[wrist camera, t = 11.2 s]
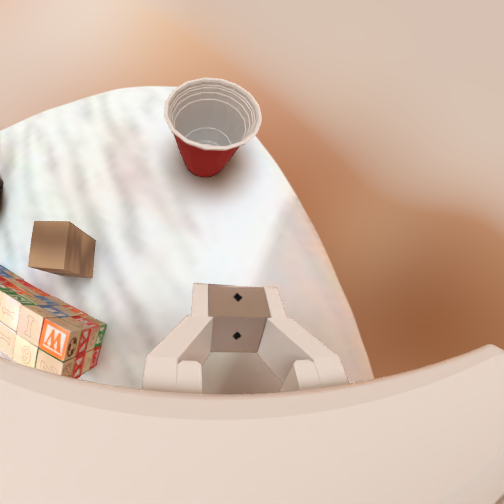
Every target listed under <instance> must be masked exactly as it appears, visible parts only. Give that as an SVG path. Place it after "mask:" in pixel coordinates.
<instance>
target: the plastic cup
mask: <svg viewBox="0 0 504 504" xmlns="http://www.w3.org/2000/svg"><path fill="white" fill-rule="evenodd" d="M164 117H165V119H166V121H167V123H168V125H169V127H170V129H171V131H172V133H173V134H174V136H175V139H176V142H177V145H178V148H179V151H180V153H181V155H182V157H183V160H184V162H185V164H186V166H187V168H188V169H189V171H191V172H192V173H193V174H194V175H197V176H200V177H210V176H213V175H215V174H217V173H219V172H220V171H221V170H222V169H223V168H224V166H225V165H226V163H227V162H228V161H229V160H230V159H231V157H232V156H233V154H234V153H235V152H236V150H237V149H238V148H239V146H242V145H244V144H245V143H246V142H248V141H249V140H250V139H251V138H252V137H253V136H255V135H256V134H257V133H258V130H259V127H260V124H261V122H262V117H261V111H260V106H259V105H258V103H257V102H256V100H255V99H254V98H253V96H252V95H251V94H250V93H249V92H248V91H246V90H245V89H243V88H242V87H240V86H239V85H237V84H235V83H232V82H229V81H226V80H223V79H216V78H200V79H196V80H191V81H187V82H185V83H184V84H182V85H181V86H179V87H177V88H176V89H174V90H173V91H172V93H171V94H170V96H169V97H168V98H167V100H166V101H165V111H164Z"/></svg>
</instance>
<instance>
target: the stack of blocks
mask: <svg viewBox="0 0 504 504" xmlns="http://www.w3.org/2000/svg"><path fill="white" fill-rule="evenodd" d="M106 326H107V324H105V323H103V322H101V321H99V320H97V319H95V318H93V317H91V316H89V315H88V314H86V313H84V312H82V311H80V310H78V309H76V308H74V307H72V306H70V305H68V304H67V303H65V302H63V301H61V300H59V299H57V298H55V297H52V296H50V295H48V294H46V293H45V292H43V291H41V290H40V289H37V288H35V287H34V286H32V285H30V284H29V283H27V282H25V281H24V279H22V278H20V277H19V276H17V275H16V274H14V273H12V272H10V271H9V270H8V269H6V268H4V267H3V266H1V265H0V350H1V351H2V352H4V353H5V354H6V355H7V356H9V357H10V358H12V359H13V360H14V361H15V362H17V363H20V364H23V365H26V366H29V367H32V368H36V369H39V370H43V371H46V372H50V373H54V374H58V375H62V376H66V377H71V378H75V379H77V378H79V377H80V376H81V375H82V374H84V373H85V372H87V371H88V370H90V369H91V368H93V367H95V366H96V364H97V360H98V356H99V352H100V348H101V343H102V339H103V336H104V332H105V329H106Z"/></svg>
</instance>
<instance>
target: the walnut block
mask: <svg viewBox="0 0 504 504" xmlns="http://www.w3.org/2000/svg"><path fill="white" fill-rule="evenodd" d="M95 242H96V240H94V239H93V238H91V237H90V236H89V235H87V234H86V233H84V232H83V231H82V230H80V229H79V228H78V227H76V226H75V225H74V224H72V223H71V222H67V221H34V226H33V232H32V239H31V246H30V255H29V264H28V267H32V268H35V269H39V270H42V271H46V272H50V273H54V274H58V275H62V276H74V277H87V278H93V263H94V252H95Z"/></svg>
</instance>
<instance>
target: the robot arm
mask: <svg viewBox="0 0 504 504" xmlns="http://www.w3.org/2000/svg"><path fill="white" fill-rule="evenodd" d="M210 352H252V353H257V354H258V355H259V356H260V358H261V359H262V360H263V361H264V362H265V364H266V365H267V366H268V367H269V368H270V369H271V371H272V372H273V373H274V374H275V375H276V376H277V377H278V379H279V380H280V381H281V382H282V383H283V386H282V388H281V390H280V392H274V393H256V394H202V369H201V366H202V365H203V363H204V362H205V360H206V359H207V357H208V356H209V354H210ZM0 504H504V350H502V349H500V348H498V347H497V346H495V345H492V344H488V345H485V346H483V347H481V348H478V349H476V350H473V351H470V352H468V353H465V354H462V355H459V356H456V357H454V358H451V359H448V360H445V361H441V362H438V363H435V364H432V365H428V366H425V367H422V368H418V369H414V370H411V371H407V372H403V373H399V374H395V375H390V376H386V377H382V378H377V379H372V380H367V381H362V382H356V383H350V384H349V382H348V379H347V377H346V374H345V372H344V369H343V367H342V364H341V362H340V359H339V357H338V355H336V354H335V353H334V352H332V351H331V350H330V349H329V348H327V347H326V346H325V345H324V344H322V343H321V342H320V341H319V340H317V339H316V338H315V337H314V336H312V335H311V334H310V333H309V332H308V331H306V330H305V329H304V328H303V327H301V326H300V325H299V324H298V323H296V322H295V321H294V320H293V319H292V318H287V316H286V313H285V310H284V307H283V303H282V300H281V297H280V294H279V291H278V288H277V287H252V286H232V285H218V284H202V283H194V284H193V294H192V312H191V316H189V315H187V316H186V317H185V318H184V319H183V320H182V321H181V322H180V323H179V324H178V325H177V326H176V327H175V328H174V329H173V330H172V331H171V332H170V333H169V334H168V335H167V336H166V337H165V338H164V339H163V340H162V341H161V342H160V343H159V344H158V345H157V346H156V347H155V348H154V349H153V350H152V351H151V352H150V353H149V354H148V355H147V356H146V362H145V369H144V377H143V384H142V389H134V388H126V387H119V386H113V385H106V384H101V383H95V382H90V381H85V380H80V379H75V378H71V377H66V376H62V375H58V374H54V373H50V372H46V371H43V370H39V369H36V368H32V367H29V366H26V365H23V364H20V363H17V362H14V361H11V360H8V359H5V358H2V357H0Z"/></svg>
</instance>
